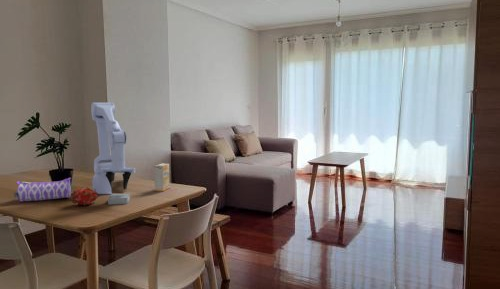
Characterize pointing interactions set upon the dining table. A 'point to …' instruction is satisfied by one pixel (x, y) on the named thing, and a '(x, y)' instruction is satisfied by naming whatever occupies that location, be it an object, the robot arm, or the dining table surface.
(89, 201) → the dragon fruit
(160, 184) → the supplement box
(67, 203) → the dining table surface
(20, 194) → the pencil case
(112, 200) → the grey flat square block
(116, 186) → the walnut cube
